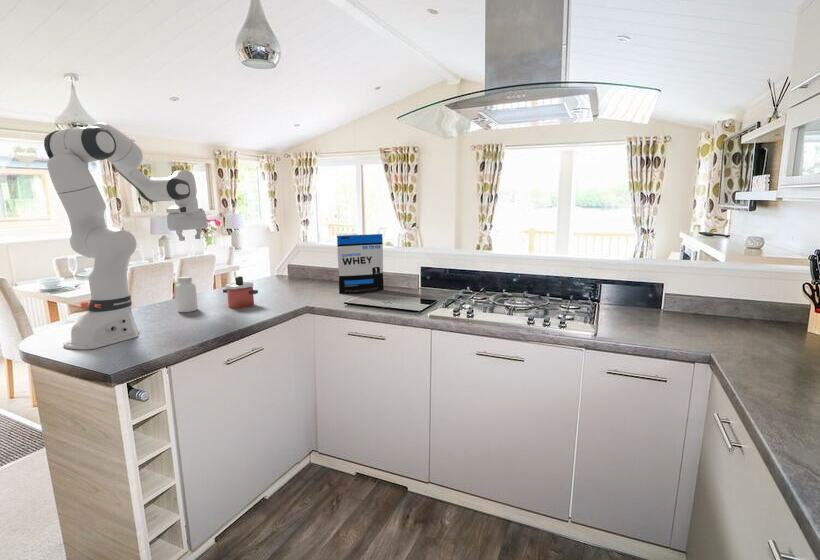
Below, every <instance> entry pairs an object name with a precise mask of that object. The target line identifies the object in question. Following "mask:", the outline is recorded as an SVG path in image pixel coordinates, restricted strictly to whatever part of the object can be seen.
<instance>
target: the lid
mask: <svg viewBox="0 0 820 560" xmlns="http://www.w3.org/2000/svg"><path fill="white" fill-rule="evenodd" d="M234 278H235V282H232V283H228V284H227V283H226V284H225V289H245V288H250V287H253V288H254V282H250V281H244V277H243V276H234Z"/></svg>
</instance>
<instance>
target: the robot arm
mask: <svg viewBox="0 0 820 560" xmlns="http://www.w3.org/2000/svg"><path fill="white" fill-rule="evenodd" d="M43 146H44V150H45V152H46V153H45V154H46V155H47V157H48V160H47V170H48V173H49V177H50V180H51V183H52V185H53V187H54V189H55V191H56V194H57V196H58V198H59V200H60V202H61V204H62V206H63V207H64V209H65V210H64V211H65V212H66V215H67V217H68V220H69V224H70V230H71V235H70V239H69V243H70V245H69V246H70V247H71V249H72V250H73V251H74V252H75V253H77V254H79V255H81V256H83V257H87V258H91V259H94V263H93V269H92V272H91V273H90V274H89V276H88V283H89V289H90V297H91V298H90V301H89V302H85V301H82V302H80V304H79V307H80V308H82V309H87V312H85V314H83V316H82V317H81V318H80V319H79V320H78V321H77V322H76V323H75V324H73V326H72V328H71V331H70V340H68V341H66V342H63V347H64V348H66V349H69V350H72V349H73V350H93V349H94V350H95V349H98V348H99V349H100V348H102V347H106V346H110V345H114V344H116V343H119V342H124V341H127V340H130V339H134V338H138V337H139V333H140V330H139V328H138V327H137V323H136V322H135V318H134V314H133V311H132V305H133V303H132V297H131V295H130V292H129V283H128V267H129V263H130V262H129V261H130V258H131V256H132V255H133V254H134V253H135V251H136V249H137V240H136V238H135V235H133V234H132V233H131V232H130V231H127V230H126V229H123V228H119V227H111V226H110V227H108V226H107V224H106V220H105V212H106V210H107V209H106V208H107V206H106V202H105V201H104V199H103V196H102V193H101V192H100V189H99V188H98V185H97V183H96V181H95V179H94V177H93V174H92V173H91V172H90V169H89V163H93V162H97V161H104V160H107V161H108V162H109V163H110V164H112V166H113V169H114V170H115V171H116V172H117V173H118V174H119V175H120V176H121V177H123V178H124V179H125V180H126V181H127V182H128V183H130V184H131V185H132V186H133V187H134V188H135V189H136V190H137V192H138V193H139V195H140V197H142V198H143V199H144V200H145V201H147V202H150V203H155V202H171V201H172V202H173V201H174V203H175V204H173V205H171V206H169V207H166V213H167V216H166V223H167V228H168V230H169V231H173V232H175V234H176V235H177V237H178V240H179V242H182V241H184V242H185V241H186V238H185V236H184V235H183V231H188V230H195V232H196V234H195V235H194V239H195V240H201V235H202V233H203V229H207V228H208V227H209V224H208V218H207V215H206V211H205V210H204V209H203V208H201V207H199V201H198V199H197V192H198V191H197V190H198V189H197V183H196V179H195V176H194V173H193V172H191V171H188V170H181V169H180V170H179V169H178V170H175V171H173V173H172V175H169V176H167V177H151V176H146V175H145V174H144V173H143V172H142V171H141V170H140V169H139V167H140V165H141V164H142V162H143V159H144V155H143V154H144V153H143V150H142V149H141V148H140V146H139V145H138V144H137V143H136V142H134V141H133V140H132V139H131V138H130V137H128V136H127V135H125V133H123V132H121V131H120V130H119V129H117V128H115V127H114V126H112V125H110V124H108V123H106V122H95V123H93V124H92V125H90V126H86V127H85V126H83V127H82V126H81V127H69V128H65V129H61V130H55V131H54V130H53V131H52V132H49V133H48V134H47V135H46V136H44V140H43Z"/></svg>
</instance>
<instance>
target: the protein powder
mask: <svg viewBox="0 0 820 560" xmlns="http://www.w3.org/2000/svg"><path fill="white" fill-rule="evenodd" d="M336 240H337V241H336V244H337V246H336V247H337V263H338V264H337V265H338V267H337V268H338V287H339V288H338V290H339V291H338V292H339V294H341V295H342V294H343V295H359V294H360V295H361V294H371V293H376V292H380V291H384V287H385V286H384V249H383V247H384V244H383V243H384V242H383V234H382V233H378V234H377V233H375V234H374V233H372V234H352V235H350V234H349V235H348V234H347V235H346V234H345V235H336Z"/></svg>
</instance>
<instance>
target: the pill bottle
mask: <svg viewBox="0 0 820 560" xmlns="http://www.w3.org/2000/svg"><path fill="white" fill-rule="evenodd" d="M177 279H178V281H177V282H178V283H177V284H176V285H175V298H176V305H177V311H178V312H180V313H191V312H195V311H198V308H199V307H198V306H199V305H198V298H197V287H196V286H197V285H196V283H194V282H192V281H193V277H192V276H180V277H178V278H177Z"/></svg>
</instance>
